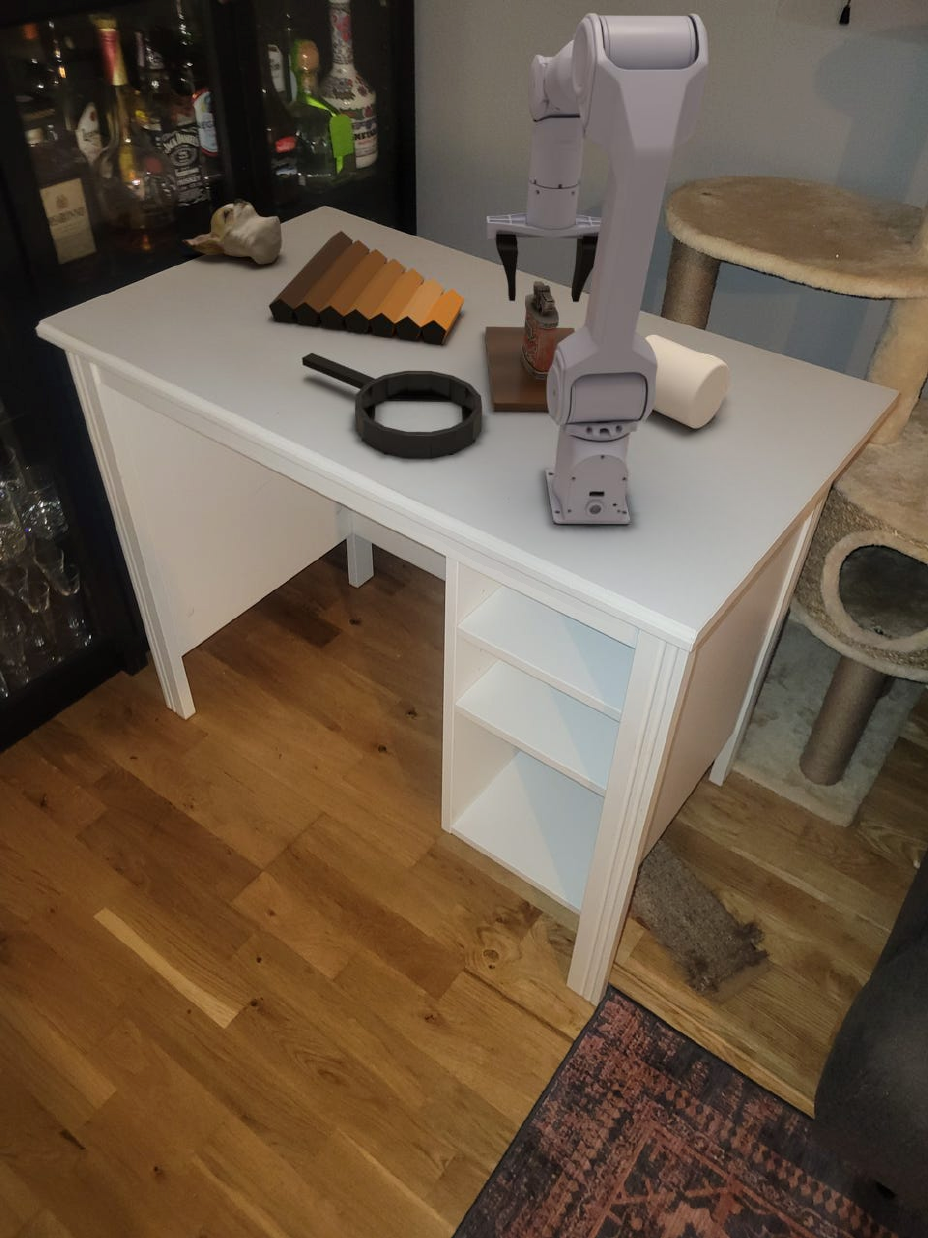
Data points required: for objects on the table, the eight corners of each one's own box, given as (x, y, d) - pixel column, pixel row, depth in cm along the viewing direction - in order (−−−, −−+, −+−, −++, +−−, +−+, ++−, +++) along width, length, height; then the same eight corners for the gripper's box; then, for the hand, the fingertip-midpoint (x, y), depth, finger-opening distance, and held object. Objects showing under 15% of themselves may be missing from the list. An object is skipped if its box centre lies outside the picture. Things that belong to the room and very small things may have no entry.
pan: (483, 458, 107) (484, 435, 105) (289, 457, 106) (287, 433, 104) (476, 376, 121) (477, 354, 119) (305, 374, 120) (303, 352, 118)
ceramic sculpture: (253, 216, 134) (171, 202, 140) (262, 277, 140) (183, 261, 145) (297, 194, 141) (217, 182, 147) (304, 253, 147) (227, 239, 152)
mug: (684, 439, 112) (698, 377, 106) (616, 406, 116) (626, 346, 111) (739, 403, 118) (755, 343, 113) (673, 374, 123) (685, 315, 118)
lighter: (516, 349, 124) (521, 274, 117) (541, 347, 124) (548, 273, 118) (531, 380, 118) (538, 302, 111) (558, 378, 119) (566, 301, 112)
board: (592, 412, 115) (593, 403, 114) (493, 411, 115) (493, 402, 114) (572, 335, 130) (573, 327, 129) (485, 334, 129) (485, 326, 129)
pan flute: (331, 251, 148) (270, 320, 130) (330, 229, 146) (267, 296, 128) (487, 271, 144) (446, 345, 127) (488, 249, 142) (446, 321, 124)
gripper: (613, 169, 109) (598, 284, 118) (487, 166, 108) (481, 282, 117) (623, 190, 104) (606, 309, 113) (490, 187, 103) (484, 307, 112)
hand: (543, 297), depth 115 cm, fingers open, 7 cm apart
